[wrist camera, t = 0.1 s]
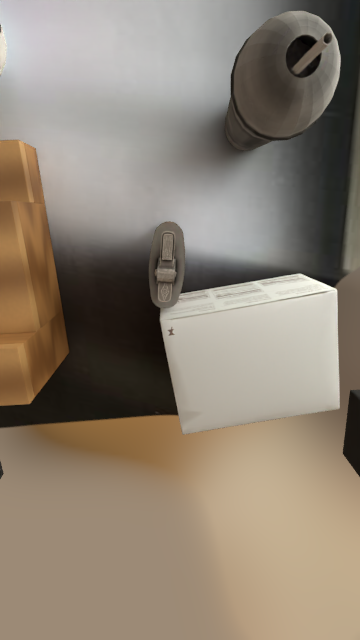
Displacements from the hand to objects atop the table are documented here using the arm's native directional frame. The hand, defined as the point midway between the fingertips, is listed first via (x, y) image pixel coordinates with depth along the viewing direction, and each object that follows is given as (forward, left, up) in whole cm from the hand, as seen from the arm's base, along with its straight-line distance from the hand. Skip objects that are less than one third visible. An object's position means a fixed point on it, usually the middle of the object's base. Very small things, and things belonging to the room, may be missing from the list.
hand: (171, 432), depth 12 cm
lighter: (-3, 0, -28) cm, 28 cm away
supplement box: (+7, +8, -28) cm, 30 cm away
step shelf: (-4, -18, -28) cm, 34 cm away
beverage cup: (-16, +9, -28) cm, 34 cm away
